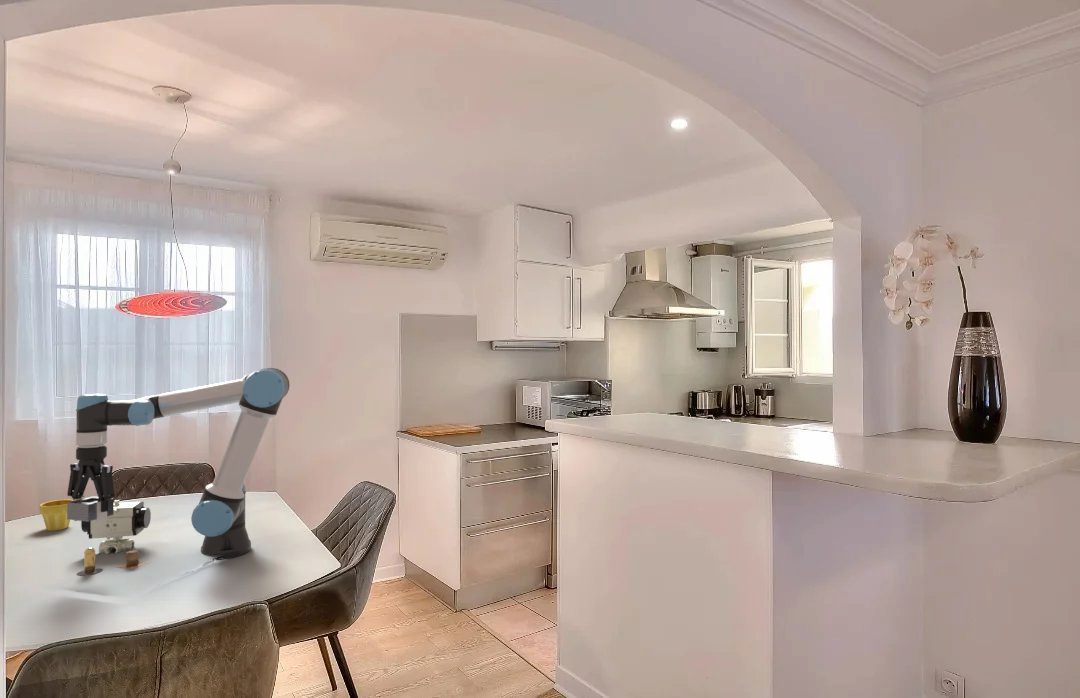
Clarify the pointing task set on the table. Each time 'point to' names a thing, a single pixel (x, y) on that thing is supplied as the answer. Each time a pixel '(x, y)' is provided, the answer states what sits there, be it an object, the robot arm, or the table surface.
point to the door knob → (89, 563)
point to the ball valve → (119, 526)
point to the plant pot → (55, 514)
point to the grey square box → (86, 509)
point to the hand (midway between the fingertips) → (90, 521)
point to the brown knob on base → (132, 560)
